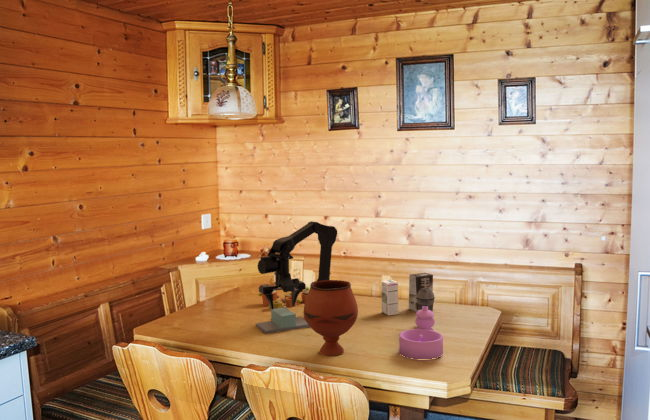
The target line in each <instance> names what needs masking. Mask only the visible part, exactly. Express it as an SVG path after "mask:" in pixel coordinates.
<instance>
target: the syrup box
mask: <svg viewBox="0 0 650 420" xmlns="http://www.w3.org/2000/svg"><path fill="white" fill-rule="evenodd" d="M381 313H382V314H384V315H386V316H394V315H395V316H396V315H399V282H397V281H396V280H393V279H386V280H382V281H381Z"/></svg>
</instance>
